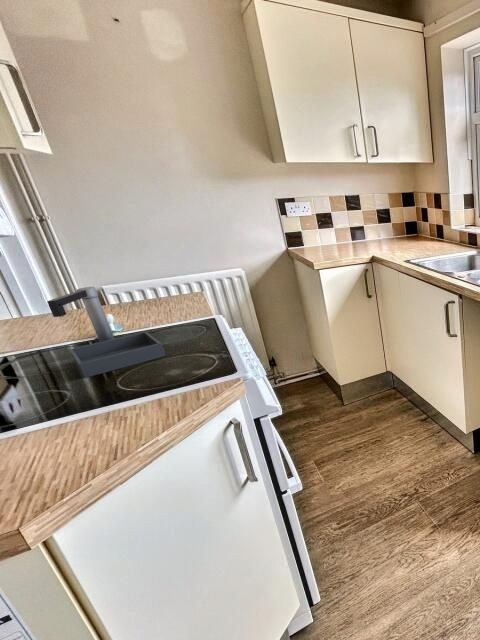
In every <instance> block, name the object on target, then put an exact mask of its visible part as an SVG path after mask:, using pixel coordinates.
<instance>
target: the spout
mask: <svg viewBox="0 0 480 640" xmlns="http://www.w3.org/2000/svg"><path fill="white" fill-rule="evenodd" d="M96 296H97V297H98V296H99V293H98V292H97V289H96V287H95V286H86V287H81V288H77V289H76V290H75V291H72V292H70V293H67V294H64V295H61V296H58V297H55V298H52V299H50V300H47V301H46V302H47V304H48V305H47V306H48V307H49V310H50V312H51V315H52V316H53V318H59V317H64V316H66V315H68V314H67V312H66V309H65V307H64V306H65V305H68V304H70V303H73V302H76V301H79V300H82V299H86V298H92V297H96Z"/></svg>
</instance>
